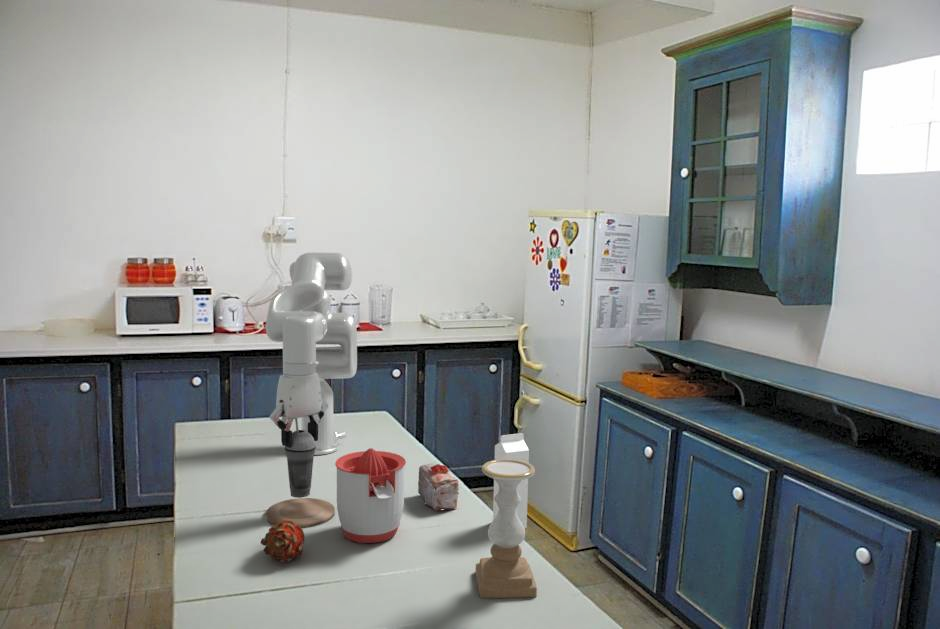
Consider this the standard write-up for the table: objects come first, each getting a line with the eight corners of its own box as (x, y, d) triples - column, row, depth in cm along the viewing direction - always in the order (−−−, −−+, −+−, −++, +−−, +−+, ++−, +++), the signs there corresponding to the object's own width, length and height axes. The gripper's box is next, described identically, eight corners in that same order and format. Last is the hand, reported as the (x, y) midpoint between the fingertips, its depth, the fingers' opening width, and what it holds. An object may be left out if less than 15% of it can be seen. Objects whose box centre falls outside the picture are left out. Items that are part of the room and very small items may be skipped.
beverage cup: (308, 501, 174) (308, 417, 172) (279, 498, 176) (278, 415, 173) (320, 490, 181) (320, 409, 179) (292, 487, 183) (292, 407, 180)
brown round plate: (307, 497, 190) (307, 492, 190) (348, 514, 180) (348, 510, 180) (252, 514, 178) (252, 510, 178) (292, 534, 168) (292, 529, 168)
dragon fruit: (284, 579, 150) (277, 562, 162) (318, 550, 153) (309, 535, 164) (257, 548, 149) (252, 533, 160) (292, 519, 151) (285, 506, 162)
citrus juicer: (350, 557, 157) (350, 465, 155) (326, 526, 172) (326, 442, 170) (419, 544, 164) (420, 456, 162) (390, 515, 180) (390, 434, 177)
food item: (462, 510, 184) (463, 472, 183) (432, 515, 181) (432, 476, 179) (441, 491, 196) (442, 455, 195) (412, 495, 193) (413, 458, 192)
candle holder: (474, 571, 152) (477, 458, 149) (528, 570, 153) (531, 457, 150) (480, 598, 141) (483, 476, 138) (537, 597, 142) (541, 476, 139)
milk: (526, 528, 174) (530, 436, 171) (503, 532, 172) (506, 439, 169) (514, 518, 180) (518, 429, 177) (492, 522, 177) (495, 431, 174)
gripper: (319, 361, 184) (319, 432, 186) (258, 371, 171) (259, 447, 173) (339, 366, 179) (339, 438, 181) (277, 376, 166) (278, 454, 168)
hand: (300, 442), depth 177 cm, fingers closed on beverage cup, 6 cm apart
